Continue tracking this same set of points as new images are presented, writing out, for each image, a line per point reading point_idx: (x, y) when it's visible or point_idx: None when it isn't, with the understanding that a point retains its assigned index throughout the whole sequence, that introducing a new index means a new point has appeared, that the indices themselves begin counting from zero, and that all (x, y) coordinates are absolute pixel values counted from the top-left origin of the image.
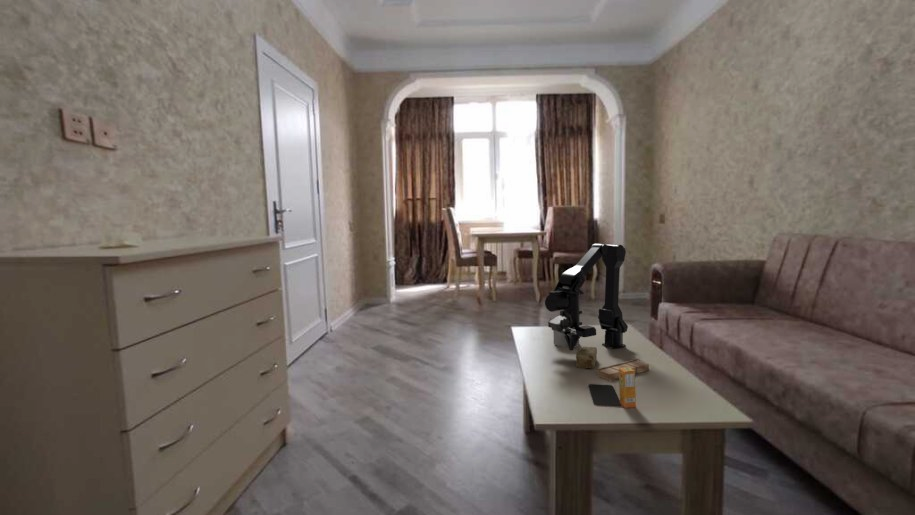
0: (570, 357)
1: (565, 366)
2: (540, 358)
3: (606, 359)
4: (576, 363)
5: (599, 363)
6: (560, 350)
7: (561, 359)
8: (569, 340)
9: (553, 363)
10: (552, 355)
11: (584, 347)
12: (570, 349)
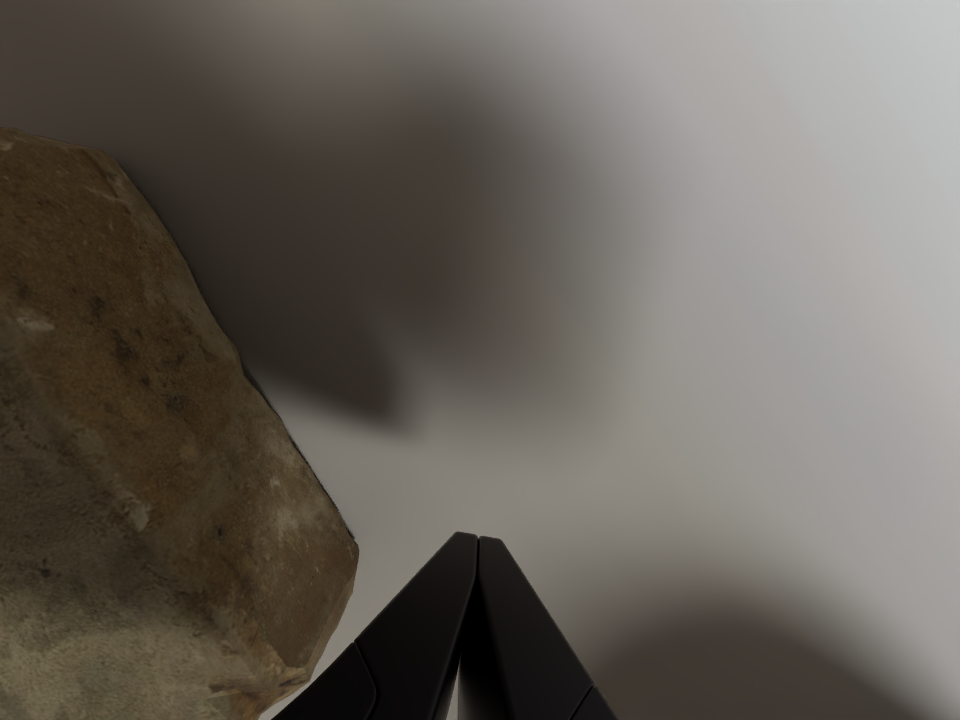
0: (502, 488)
1: (259, 55)
2: (862, 74)
3: None
4: (59, 143)
5: None
6: (811, 647)
7: (540, 314)
8: (430, 711)
9: (503, 21)
10: (776, 376)
11: (165, 699)
12: (464, 541)
